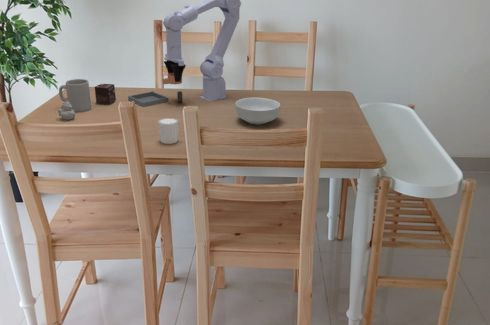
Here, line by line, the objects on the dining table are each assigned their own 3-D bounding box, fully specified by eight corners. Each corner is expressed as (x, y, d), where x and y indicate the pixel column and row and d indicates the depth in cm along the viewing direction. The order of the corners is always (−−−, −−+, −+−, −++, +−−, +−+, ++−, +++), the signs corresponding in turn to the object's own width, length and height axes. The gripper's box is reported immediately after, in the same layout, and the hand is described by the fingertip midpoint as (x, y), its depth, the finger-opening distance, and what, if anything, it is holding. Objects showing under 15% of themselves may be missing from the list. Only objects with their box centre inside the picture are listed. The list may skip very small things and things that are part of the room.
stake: (182, 99, 203) (182, 88, 201) (193, 104, 198) (193, 92, 196) (166, 103, 198) (166, 91, 196) (177, 107, 193) (177, 95, 191)
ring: (178, 80, 198) (178, 72, 196) (183, 83, 193) (183, 75, 192) (160, 82, 194) (160, 74, 193) (165, 85, 190) (165, 76, 188)
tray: (153, 96, 207) (152, 91, 206) (168, 102, 199) (168, 97, 198) (128, 101, 199) (128, 96, 198) (143, 108, 191) (143, 102, 190)
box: (109, 105, 194) (107, 87, 191) (96, 104, 195) (94, 86, 192) (116, 101, 199) (114, 84, 196) (103, 100, 200) (101, 83, 197)
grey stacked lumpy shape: (71, 122, 174) (68, 101, 171) (55, 120, 175) (51, 99, 172) (78, 117, 179) (76, 97, 176) (62, 116, 180) (60, 95, 177)
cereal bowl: (265, 132, 169) (265, 113, 167) (226, 123, 177) (226, 104, 174) (287, 119, 183) (288, 101, 180) (250, 111, 191) (250, 94, 188)
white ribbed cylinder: (159, 137, 163) (158, 117, 160) (179, 136, 163) (179, 117, 160) (157, 144, 156) (156, 124, 153) (179, 144, 157) (178, 124, 154)
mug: (94, 106, 192) (91, 79, 188) (86, 112, 185) (83, 85, 180) (66, 104, 193) (62, 78, 189) (56, 111, 186) (52, 83, 181)
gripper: (157, 43, 192) (159, 77, 198) (171, 50, 181) (172, 85, 186) (173, 42, 195) (175, 75, 201) (188, 48, 184) (189, 83, 190)
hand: (175, 80), depth 194 cm, fingers closed on ring, 5 cm apart
